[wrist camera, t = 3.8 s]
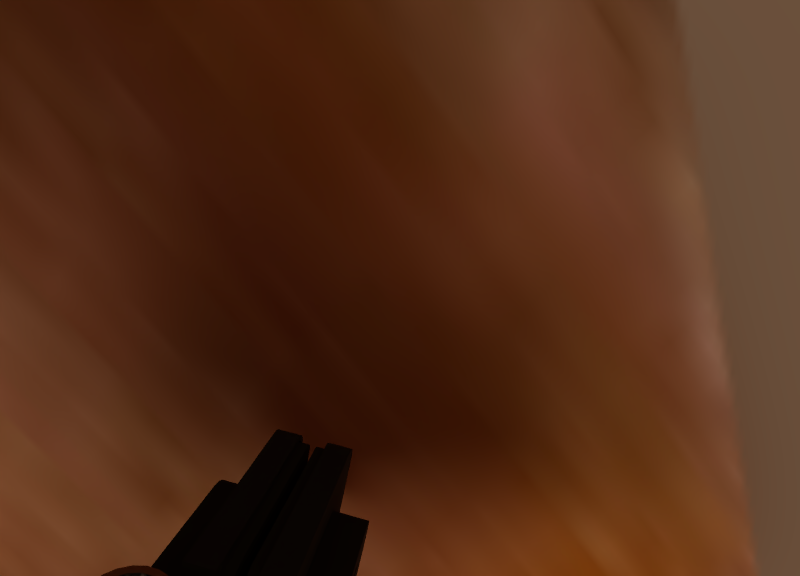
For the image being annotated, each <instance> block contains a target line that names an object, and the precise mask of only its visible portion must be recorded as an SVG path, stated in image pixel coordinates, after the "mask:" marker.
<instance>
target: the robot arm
mask: <svg viewBox="0 0 800 576" xmlns="http://www.w3.org/2000/svg"><path fill="white" fill-rule="evenodd" d="M302 442H303V437H302V435H298V434H294V433H290V432H287V431H283V430H279V429H278V430H276V432H275V433H274V434H273V436H272V437H271V438H270V440H269V441H268V443H267V444H266V445H265V447H264V448H263V449H262V451H261V452H260V454H259V455H258V456H257V458H256V459H255V461H254V462H253V463H252V465H251V466H250V468H249V469H248V470H247V472H246V473H245V475H244V476H243V477H242V479H241V480H240V481H239V483H238V484H236V483H232V482H229V481H225V480H221V481H219V482H218V483H217V484H216V485H215V486H214V487H213V488H212V490H211V491H210V492H209V494H208V495H207V496H206V497H205V499H204V500H203V501H202V503H201V504H200V505H199V506H198V508H197V509H196V510H195V511H194V513H193V514H192V515H191V517H190V518H189V519H188V520H187V522H186V523H185V524H184V526H183V527H182V528H181V529H180V531H179V532H178V533H177V534H176V536H175V537H174V538H173V540H172V541H171V542H170V543H169V545H168V546H167V547H166V549H165V550H164V551H163V552H162V554H161V555H160V556H159V557H158V559H157V560H156V561H155V563H154V564H153V565H152V566H151V567H149V566H134V565H133V566H127V567H122V568H117V569H115V570H112V571H110V572H108V573H105V574H103V575H101V576H356V575H357V571H358V567H359V563H360V559H361V555H362V551H363V547H364V542H365V538H366V534H367V529H368V525H369V521H368V520H364V519H361V518H357V517H353V516H350V515H346V514H343V513H339V512H340V508H341V503H342V498H343V494H344V489H345V484H346V479H347V475H348V470H349V465H350V461H351V456H352V449H350V448H346V447H342V446H339V445H335V444H331V443H327V445H326V446H325V448H324V449H323V448H319V447H316V448H315V450H314V452H313V454H312V455H311V457H310V459H309V461H308V455H309V450H310V445H308V444H305V443H302ZM307 461H308V463H307Z"/></svg>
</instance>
